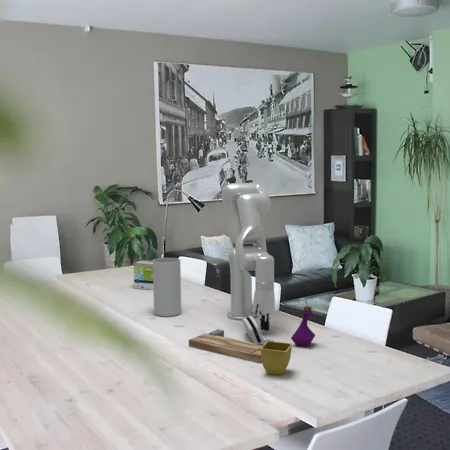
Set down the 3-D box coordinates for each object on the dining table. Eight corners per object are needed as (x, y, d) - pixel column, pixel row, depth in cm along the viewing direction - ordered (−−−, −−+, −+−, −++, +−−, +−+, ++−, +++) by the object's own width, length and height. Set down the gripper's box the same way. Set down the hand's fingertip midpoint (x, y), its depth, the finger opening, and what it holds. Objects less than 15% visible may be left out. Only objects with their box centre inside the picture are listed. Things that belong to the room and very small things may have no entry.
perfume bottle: (315, 343, 220) (315, 297, 218) (309, 349, 213) (310, 301, 211) (296, 340, 223) (297, 295, 221) (290, 346, 216) (290, 299, 214)
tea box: (133, 289, 316) (133, 262, 314) (141, 285, 325) (140, 259, 323) (158, 290, 311) (158, 263, 310) (166, 286, 321) (165, 260, 319)
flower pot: (292, 369, 193) (292, 343, 192) (286, 378, 185) (286, 351, 184) (267, 366, 196) (267, 340, 195) (260, 375, 188) (260, 348, 187)
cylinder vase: (149, 315, 261) (147, 261, 258) (162, 309, 272) (161, 257, 270) (173, 318, 256) (172, 263, 253) (185, 311, 268) (184, 258, 265)
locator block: (218, 336, 229) (217, 329, 229) (224, 337, 227) (224, 330, 227) (208, 340, 224) (208, 332, 224) (215, 341, 222) (214, 334, 222)
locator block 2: (267, 347, 216) (267, 339, 215) (273, 348, 214) (273, 340, 214) (258, 351, 211) (258, 343, 210) (265, 352, 209) (265, 344, 209)
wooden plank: (204, 339, 225) (204, 332, 225) (274, 355, 207) (274, 347, 206) (188, 346, 217) (188, 339, 217) (260, 363, 199) (260, 355, 198)
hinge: (268, 345, 218) (260, 321, 216) (257, 350, 217) (248, 326, 215) (258, 332, 234) (250, 310, 232) (248, 336, 233) (239, 314, 232)
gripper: (266, 281, 239) (266, 324, 241) (246, 287, 227) (247, 333, 229) (282, 283, 235) (282, 327, 237) (262, 290, 223) (263, 336, 225)
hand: (264, 329), depth 233 cm, fingers closed
